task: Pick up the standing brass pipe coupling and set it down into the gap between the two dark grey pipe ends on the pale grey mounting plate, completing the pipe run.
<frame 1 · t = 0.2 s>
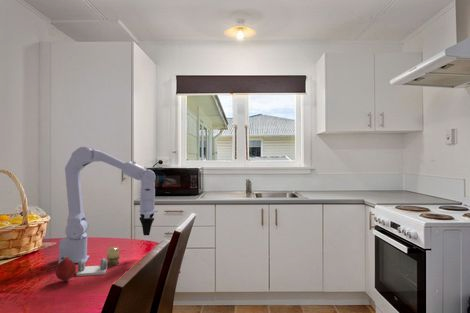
hand: (146, 232, 129), 10 cm above the table, tool pointing down, fingers open, 7 cm apart
onion: (65, 282, 102), on the table
fitting: (92, 271, 111), on the table
coupling: (112, 264, 120), on the table
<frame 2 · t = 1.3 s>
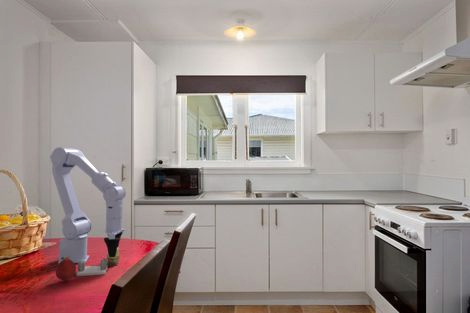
hand: (113, 253, 120), 4 cm above the table, tool pointing down, fingers open, 7 cm apart
nothing on the table moved.
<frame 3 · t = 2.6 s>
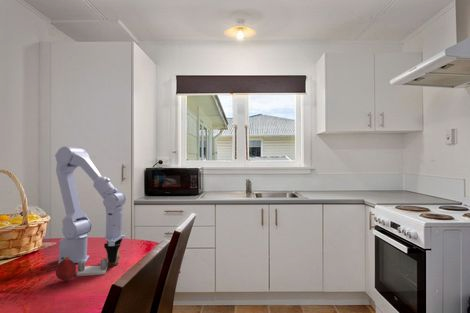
hand: (113, 260, 120), 1 cm above the table, tool pointing down, fingers closed on coupling, 5 cm apart
coupling: (112, 264, 120), on the table, touching gripper
everything else where it was.
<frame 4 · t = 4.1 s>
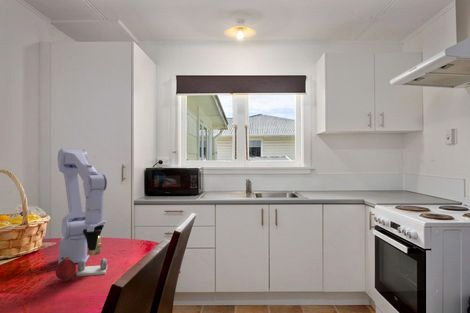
hand: (93, 247, 111), 8 cm above the table, tool pointing down, fingers closed on coupling, 5 cm apart
coupling: (94, 253, 112), point 6 cm above the table, touching gripper
everything else where it was.
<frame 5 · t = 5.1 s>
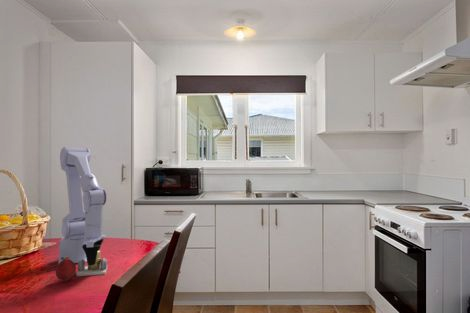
hand: (92, 262, 111), 3 cm above the table, tool pointing down, fingers closed on coupling, 5 cm apart
coupling: (93, 268, 111), point 1 cm above the table, touching gripper
everything else where it was.
when the fingers open (3 cm above the table, at t = 5.9 s): coupling stays where it is, resting on fitting.
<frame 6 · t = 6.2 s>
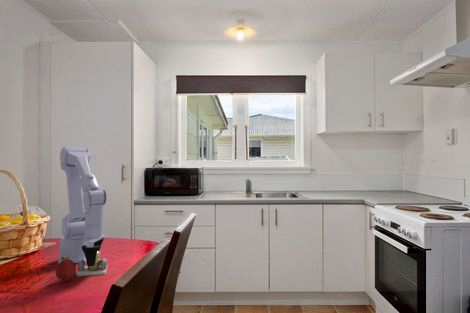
hand: (92, 262, 111), 3 cm above the table, tool pointing down, fingers open, 7 cm apart
coupling: (93, 269, 111), point 1 cm above the table, touching fitting
everything else where it was.
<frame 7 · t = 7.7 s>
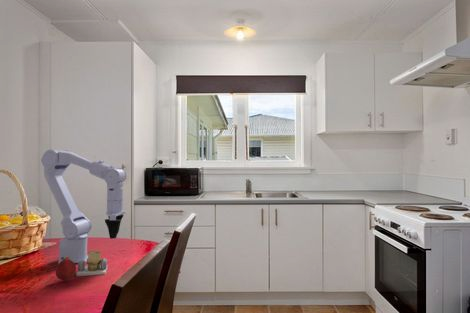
hand: (114, 235, 121), 10 cm above the table, tool pointing down, fingers open, 7 cm apart
nothing on the table moved.
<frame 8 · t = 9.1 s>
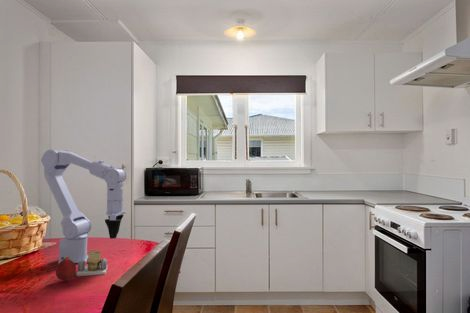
hand: (114, 235, 121), 10 cm above the table, tool pointing down, fingers open, 7 cm apart
nothing on the table moved.
at the end: coupling 0.4 cm off-centre on the fitting, point 0.8 cm above the fitting's base; coupling tilted 0°; the gripper is holding nothing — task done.
